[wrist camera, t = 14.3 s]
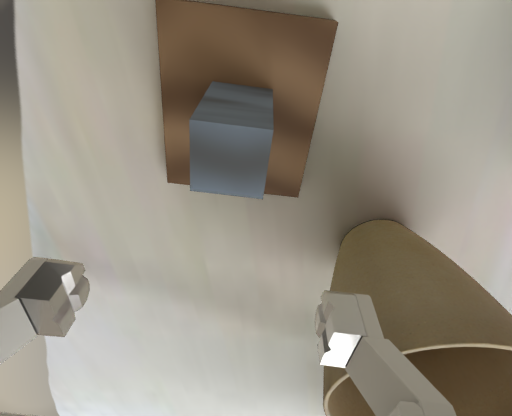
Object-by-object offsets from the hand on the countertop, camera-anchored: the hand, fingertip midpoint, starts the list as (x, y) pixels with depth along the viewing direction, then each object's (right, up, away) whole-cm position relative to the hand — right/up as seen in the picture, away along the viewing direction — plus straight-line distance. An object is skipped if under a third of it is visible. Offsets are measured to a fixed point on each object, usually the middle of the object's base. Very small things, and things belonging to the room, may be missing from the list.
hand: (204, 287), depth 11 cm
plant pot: (+14, -1, +23) cm, 27 cm away
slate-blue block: (+1, +10, +14) cm, 17 cm away
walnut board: (+1, +11, +15) cm, 18 cm away
